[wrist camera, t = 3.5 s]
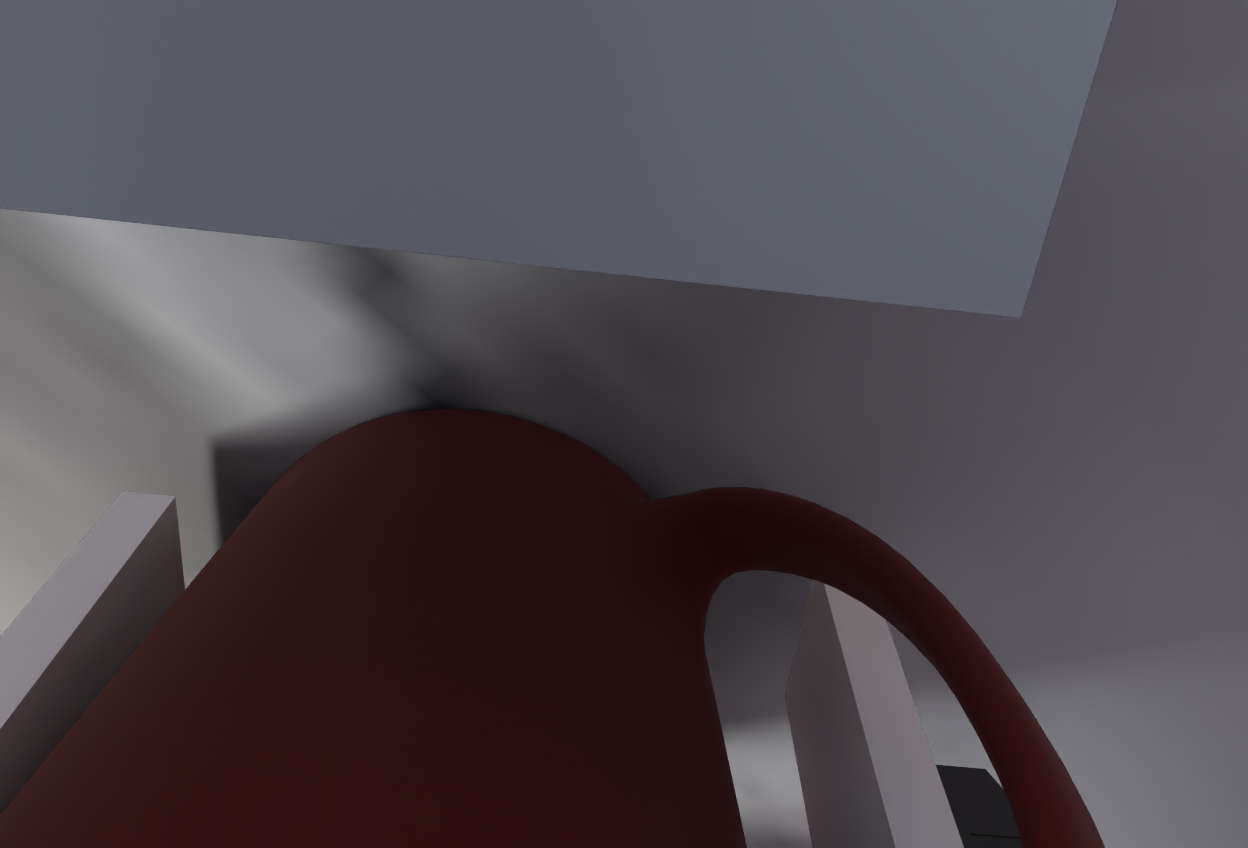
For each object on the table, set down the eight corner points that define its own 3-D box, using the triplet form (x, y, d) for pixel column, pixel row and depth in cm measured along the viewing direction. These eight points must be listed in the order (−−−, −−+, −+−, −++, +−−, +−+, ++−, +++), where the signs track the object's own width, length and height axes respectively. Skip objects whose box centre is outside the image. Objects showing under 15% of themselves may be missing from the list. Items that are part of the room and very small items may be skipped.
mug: (712, 114, 14) (895, 711, 4) (1004, 577, 17) (1509, 1539, 7) (83, 544, 17) (-699, 1464, 7) (431, 862, 20) (231, 1790, 10)
